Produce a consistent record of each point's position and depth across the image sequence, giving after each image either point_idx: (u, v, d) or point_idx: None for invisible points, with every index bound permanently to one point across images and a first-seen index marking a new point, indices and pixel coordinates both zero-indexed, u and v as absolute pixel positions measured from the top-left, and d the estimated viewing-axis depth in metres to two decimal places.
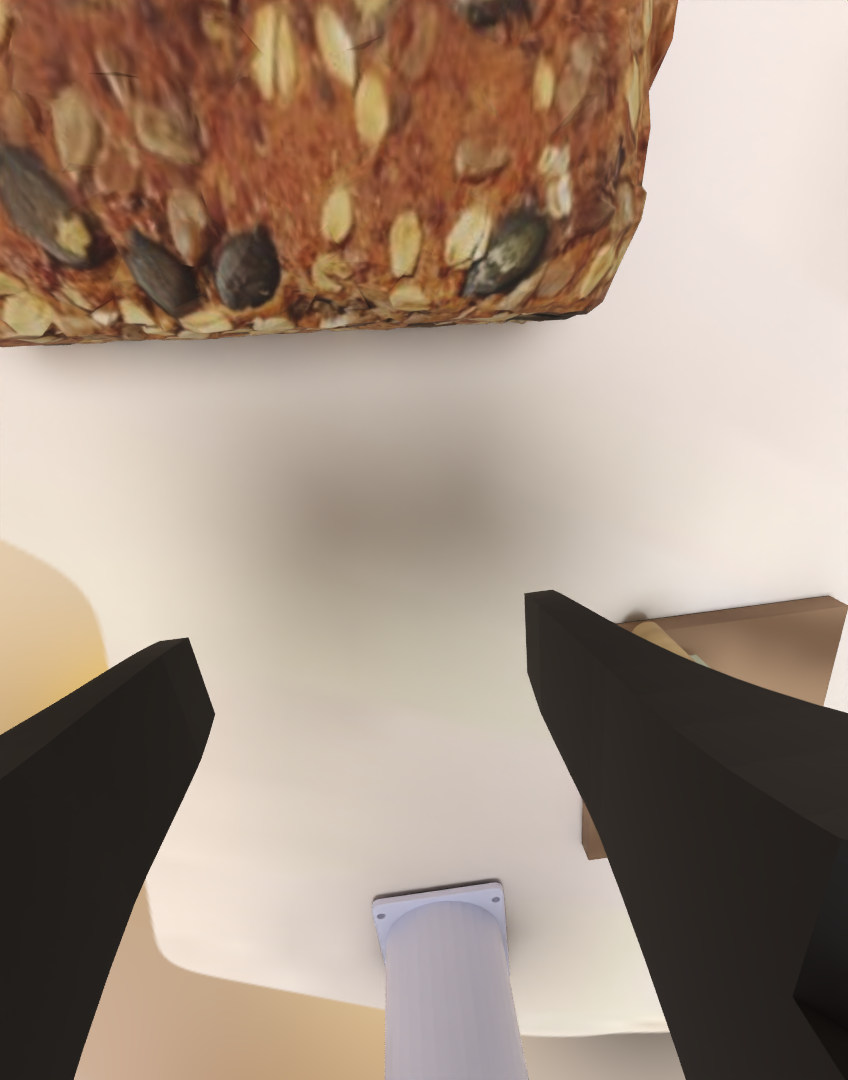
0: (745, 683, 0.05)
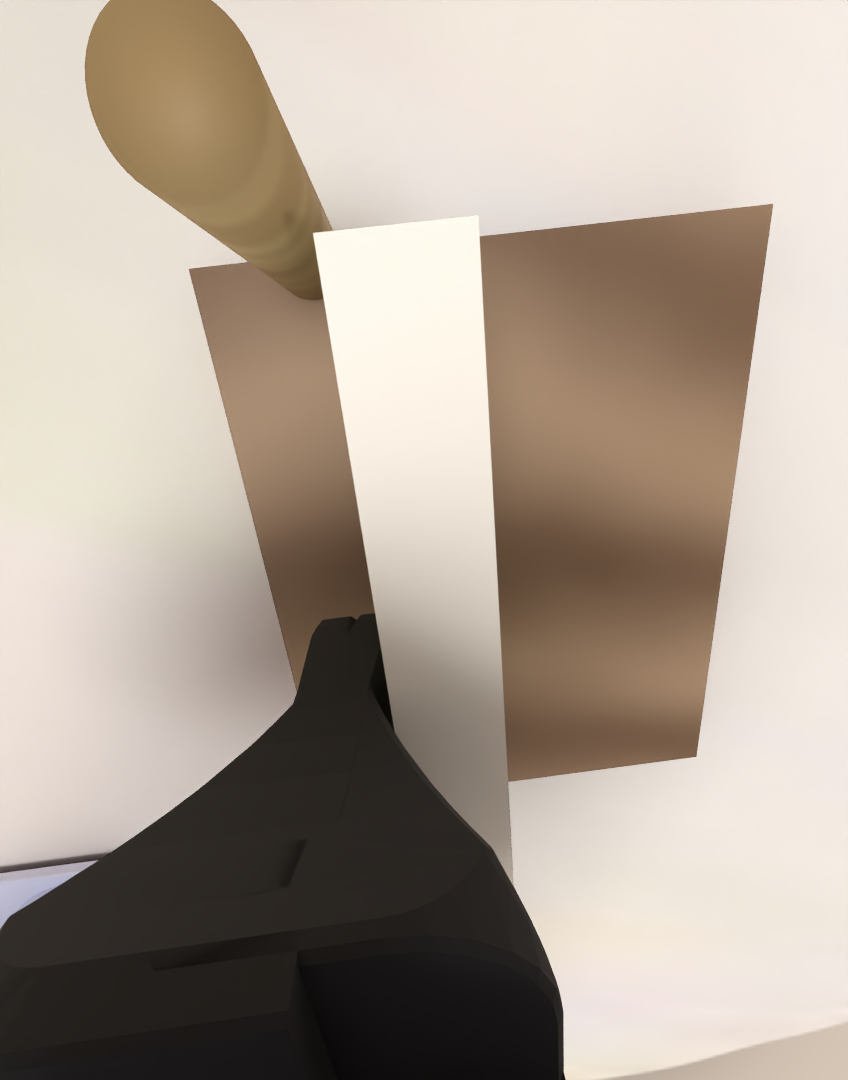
0: (392, 731, 0.05)
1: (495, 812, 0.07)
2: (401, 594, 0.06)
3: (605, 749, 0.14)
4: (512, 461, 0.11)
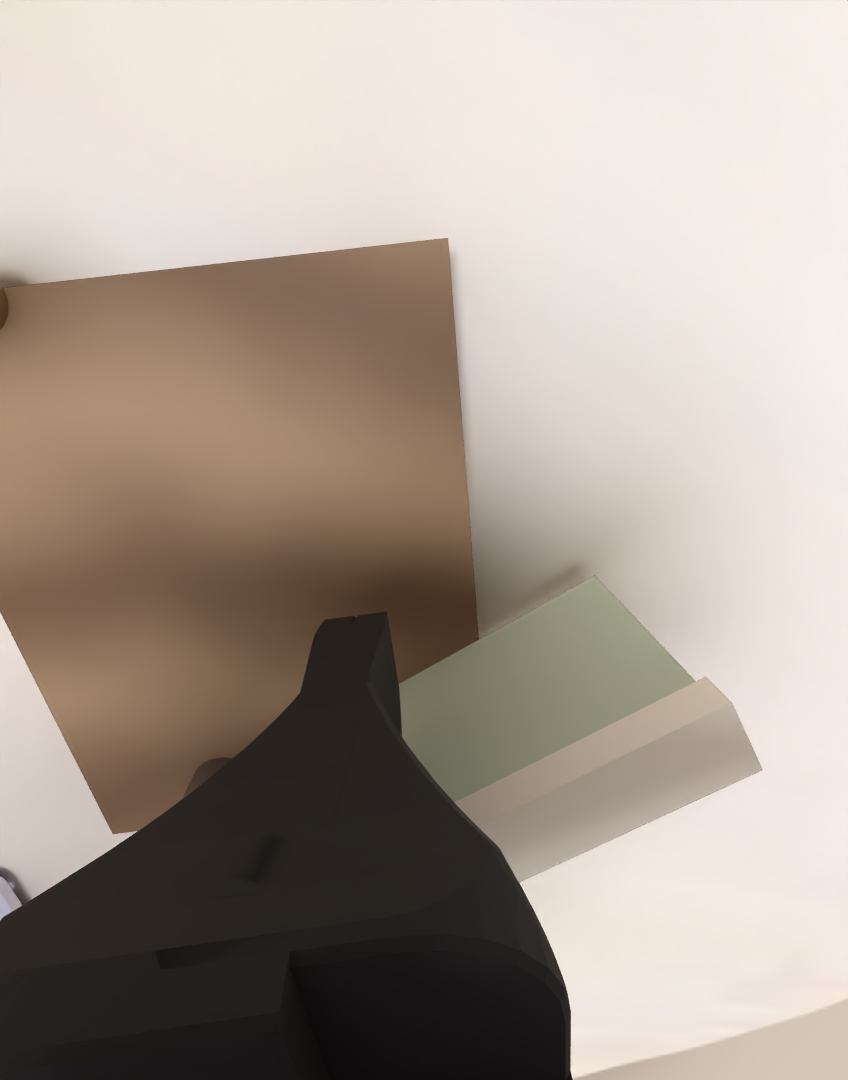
0: (396, 730, 0.05)
1: None
2: (507, 830, 0.07)
3: None
4: (230, 494, 0.11)
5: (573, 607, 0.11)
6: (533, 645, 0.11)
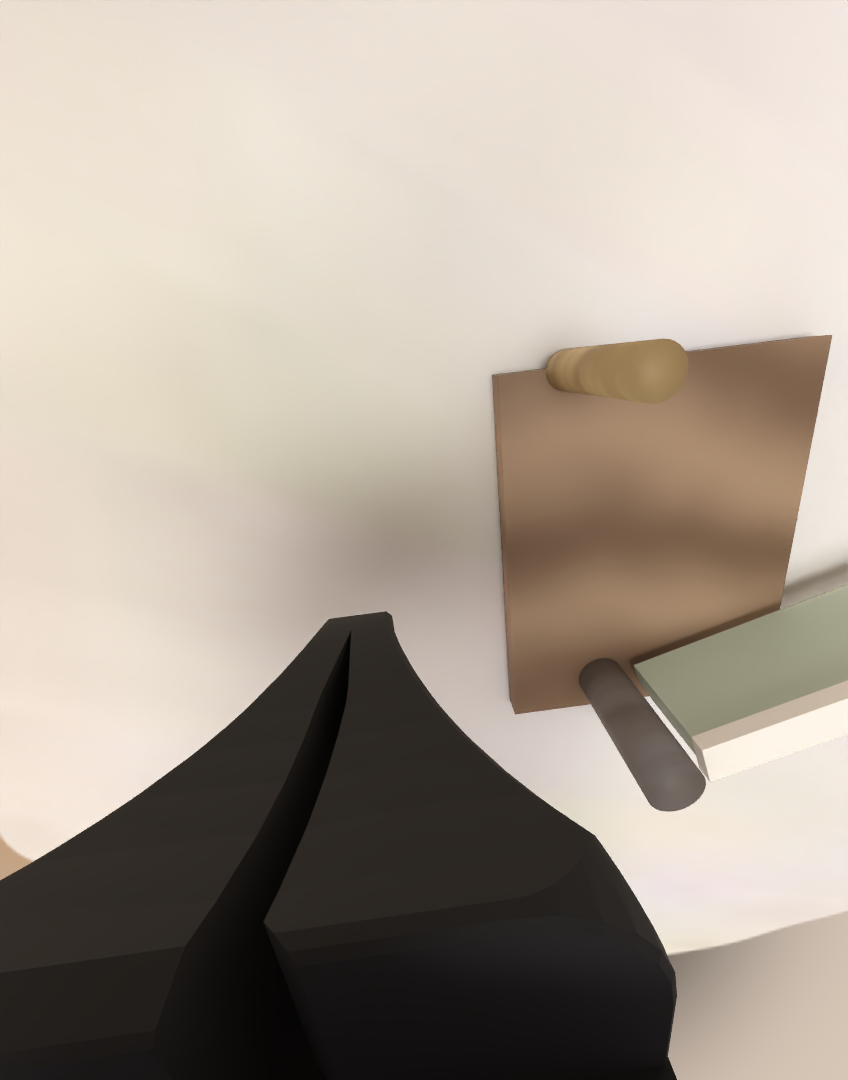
0: (453, 723, 0.05)
1: (800, 745, 0.16)
2: None
3: None
4: (666, 482, 0.18)
5: None
6: None
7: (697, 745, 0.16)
